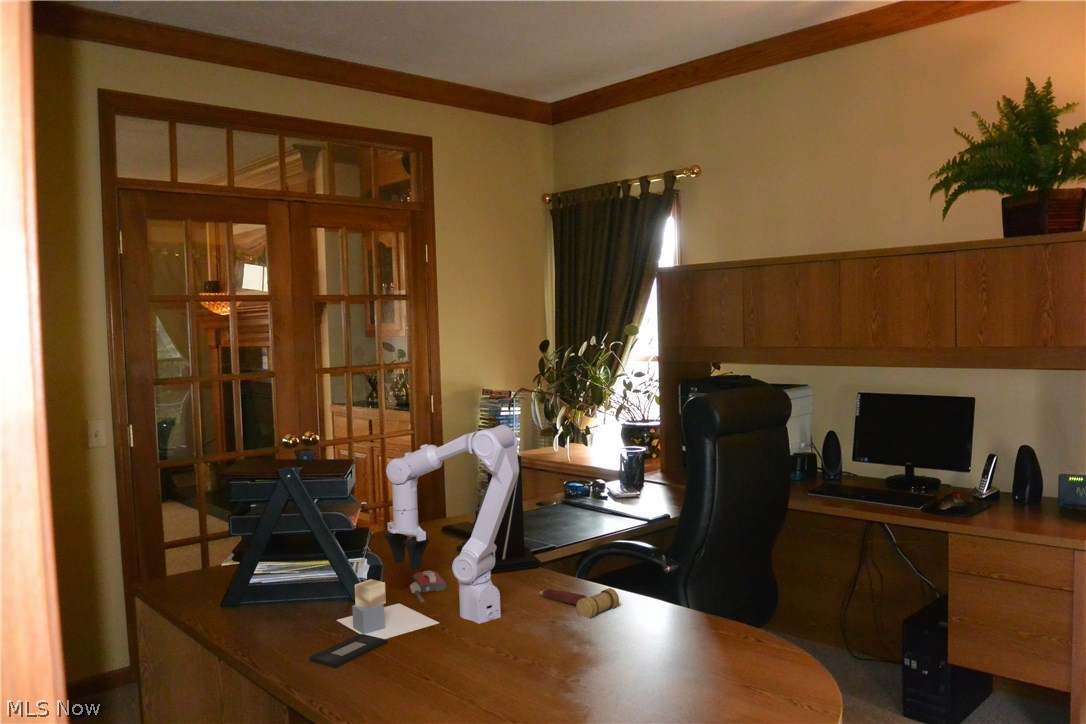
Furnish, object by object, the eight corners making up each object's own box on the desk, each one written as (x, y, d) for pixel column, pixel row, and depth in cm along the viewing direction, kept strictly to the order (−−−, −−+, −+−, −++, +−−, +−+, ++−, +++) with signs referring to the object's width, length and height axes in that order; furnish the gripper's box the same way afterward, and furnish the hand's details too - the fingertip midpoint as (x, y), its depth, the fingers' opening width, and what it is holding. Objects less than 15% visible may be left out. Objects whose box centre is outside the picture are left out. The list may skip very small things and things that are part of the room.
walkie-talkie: (403, 584, 216) (418, 608, 197) (403, 568, 216) (418, 590, 197) (437, 580, 219) (455, 603, 200) (436, 563, 219) (454, 585, 200)
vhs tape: (309, 667, 164) (308, 657, 164) (361, 643, 176) (361, 633, 176) (336, 674, 160) (335, 664, 160) (387, 649, 172) (387, 639, 172)
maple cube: (385, 603, 182) (384, 582, 182) (369, 609, 179) (368, 588, 178) (371, 599, 185) (370, 579, 185) (355, 605, 181) (354, 584, 181)
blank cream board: (439, 627, 183) (439, 622, 183) (374, 646, 173) (373, 642, 173) (399, 607, 197) (399, 603, 197) (336, 624, 187) (336, 620, 187)
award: (454, 548, 250) (451, 448, 248) (514, 541, 255) (511, 444, 254) (477, 576, 220) (473, 463, 219) (544, 567, 226) (541, 458, 225)
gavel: (524, 588, 200) (553, 578, 207) (526, 607, 199) (554, 596, 207) (590, 600, 185) (618, 589, 192) (592, 621, 185) (620, 609, 192)
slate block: (384, 628, 181) (383, 605, 181) (363, 634, 178) (362, 611, 177) (374, 622, 185) (373, 600, 185) (353, 628, 182) (352, 605, 181)
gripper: (375, 506, 198) (377, 563, 198) (405, 516, 186) (408, 576, 187) (401, 501, 202) (403, 557, 203) (432, 510, 191) (435, 569, 191)
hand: (407, 565), depth 195 cm, fingers open, 7 cm apart
